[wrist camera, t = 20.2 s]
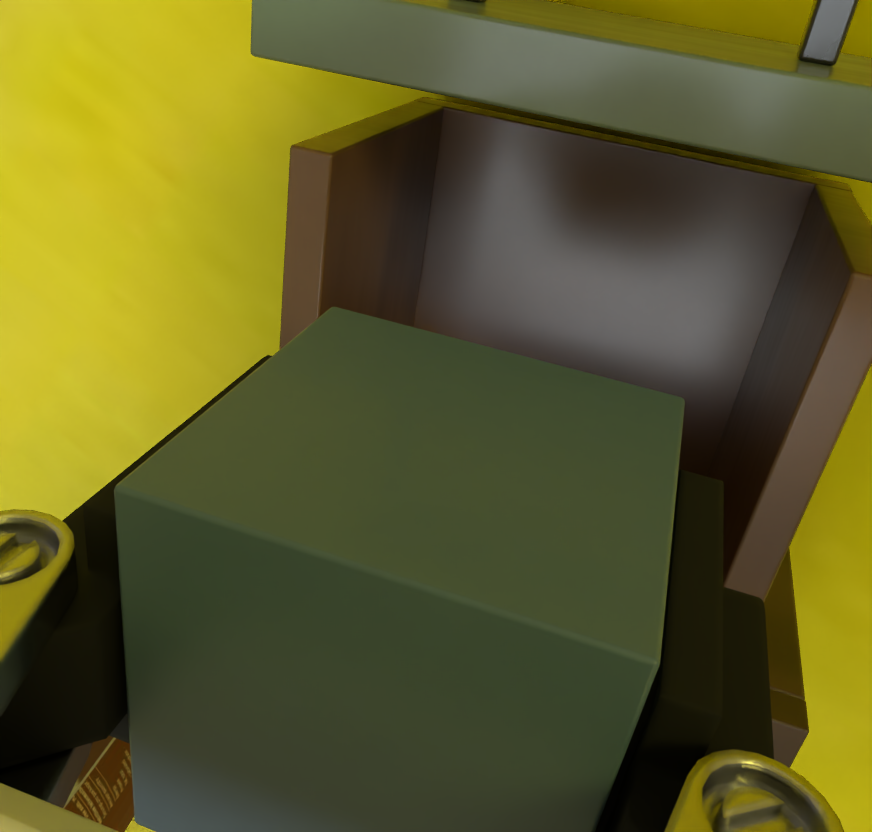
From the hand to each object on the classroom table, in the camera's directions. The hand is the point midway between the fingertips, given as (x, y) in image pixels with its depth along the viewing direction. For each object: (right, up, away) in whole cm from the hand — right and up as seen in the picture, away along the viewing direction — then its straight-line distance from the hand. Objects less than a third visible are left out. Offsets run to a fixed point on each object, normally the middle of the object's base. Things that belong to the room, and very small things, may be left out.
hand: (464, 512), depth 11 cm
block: (0, 0, 0) cm, 0 cm away
